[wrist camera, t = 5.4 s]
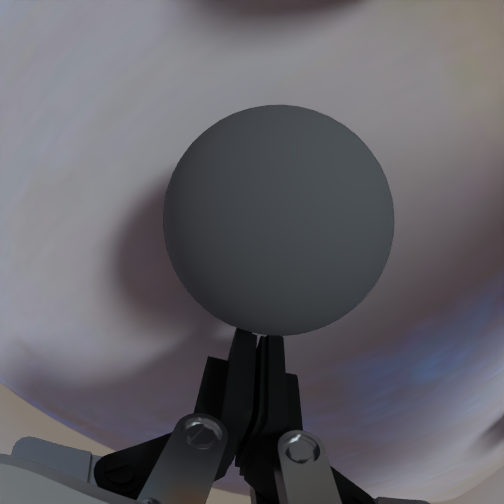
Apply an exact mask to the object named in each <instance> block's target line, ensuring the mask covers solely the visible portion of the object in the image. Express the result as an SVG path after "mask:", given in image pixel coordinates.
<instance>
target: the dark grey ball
mask: <svg viewBox="0 0 504 504" xmlns="http://www.w3.org/2000/svg"><path fill="white" fill-rule="evenodd" d="M163 228H164V236H165V242H166V247H167V251H168V254H169V257H170V260H171V262H172V265H173V267H174V269H175V271H176V273H177V275H178V277H179V279H180V280H181V282H182V283H183V285H184V286H185V288H186V289H187V290H188V292H189V293H190V294H191V295H192V297H193V298H194V299H195V300H196V301H197V302H198V303H199V304H200V305H201V306H202V307H204V308H205V309H206V310H207V311H209V312H210V313H211V314H213V315H214V316H215V317H217V318H219V319H220V320H222V321H224V322H226V323H228V324H230V325H232V326H234V327H237V328H239V329H242V330H245V331H249V332H253V333H258V334H264V335H275V336H284V335H296V334H301V333H306V332H310V331H313V330H316V329H319V328H321V327H324V326H326V325H329V324H331V323H333V322H335V321H336V320H338V319H340V318H341V317H343V316H344V315H346V314H347V313H348V312H350V311H351V310H352V309H353V308H355V307H356V306H357V305H358V304H359V303H360V302H361V301H362V300H363V299H364V298H365V297H366V295H367V294H368V293H369V292H370V290H371V289H372V288H373V287H374V285H375V284H376V282H377V280H378V279H379V277H380V275H381V273H382V271H383V269H384V267H385V264H386V262H387V259H388V257H389V253H390V249H391V245H392V240H393V234H394V209H393V201H392V196H391V192H390V189H389V185H388V182H387V179H386V177H385V175H384V172H383V170H382V168H381V166H380V164H379V163H378V161H377V160H376V158H375V157H374V155H373V154H372V152H371V151H370V149H369V148H368V147H367V146H366V145H365V143H364V142H363V141H362V140H361V139H360V138H359V137H358V136H357V135H356V134H355V133H353V132H352V131H351V130H350V129H348V128H347V127H346V126H344V125H343V124H341V123H339V122H338V121H336V120H334V119H333V118H331V117H329V116H326V115H324V114H322V113H319V112H317V111H314V110H310V109H307V108H303V107H298V106H289V105H266V106H260V107H254V108H249V109H246V110H243V111H240V112H237V113H234V114H232V115H230V116H228V117H226V118H224V119H222V120H220V121H218V122H217V123H216V124H214V125H213V126H211V127H210V128H208V129H207V130H206V131H204V132H203V133H202V134H201V135H200V136H199V137H198V138H197V139H196V140H195V141H194V142H193V143H192V144H191V145H190V147H189V148H188V149H187V151H186V152H185V153H184V155H183V156H182V158H181V159H180V161H179V162H178V164H177V166H176V168H175V170H174V172H173V174H172V177H171V180H170V183H169V186H168V189H167V192H166V197H165V203H164V212H163Z"/></svg>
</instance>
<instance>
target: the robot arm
mask: <svg viewBox="0 0 504 504" xmlns="http://www.w3.org/2000/svg"><path fill="white" fill-rule="evenodd" d="M256 346H257V335H255V334H252V332H249V331H245V330H242V329H239V328H236V331H235V335H234V339H233V342H232V346H231V349H230V353H229V357H228V360H227V361H226V360H222V359H218V358H214V357H210V356H208V359H207V363H206V366H205V370H204V374H203V378H202V382H201V386H200V390H199V394H198V398H197V402H196V406H195V410H194V413H193V414H189V415H186V416H184V417H183V418H181V419H180V420H179V422H178V423H177V425H176V427H175V428H174V430H173V432H172V433H169V434H166V435H164V436H161V437H158V438H156V439H153V440H150V441H147V442H144V443H142V444H139V445H136V446H133V447H130V448H127V449H124V450H121V451H117V452H114V453H111V454H108V455H106V456H104V457H101V456H96V455H92V454H91V452H89V451H84V450H79V449H75V448H71V447H67V446H63V445H59V444H56V443H52V442H48V441H45V440H42V439H38V438H35V437H25V438H21V439H20V440H18V441H17V442H16V444H15V445H14V447H13V450H12V454H11V455H6V454H0V504H205V503H206V500H207V498H208V495H209V492H210V489H211V487H212V484H213V482H214V481H216V480H218V479H220V478H222V477H224V476H225V474H226V471H227V469H228V467H229V465H231V463H232V461H233V459H234V457H235V455H236V457H235V467H240V474H239V475H241V476H244V480H245V481H246V482H247V483H248V484H249V485H250V496H251V504H430V503H428V502H427V501H422V500H408V499H396V498H386V497H377V498H376V499H374V498H372V497H371V496H370V495H369V494H368V493H366V492H365V491H363V490H362V489H361V488H359V487H358V486H356V485H355V484H354V483H352V482H351V481H350V480H348V479H347V478H346V477H344V476H343V475H342V474H340V473H339V472H338V471H337V470H335V469H334V468H333V467H331V466H330V464H329V461H328V458H327V454H326V451H325V448H324V446H323V444H322V442H321V441H320V440H319V439H318V438H317V437H316V436H314V435H313V434H311V433H308V432H306V431H303V427H302V416H301V406H300V396H299V386H298V378H297V375H295V374H289V373H286V372H285V356H284V341H283V336H275V335H267V336H266V337H264V336H261V337H260V340H259V343H258V346H257V349H256Z"/></svg>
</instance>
